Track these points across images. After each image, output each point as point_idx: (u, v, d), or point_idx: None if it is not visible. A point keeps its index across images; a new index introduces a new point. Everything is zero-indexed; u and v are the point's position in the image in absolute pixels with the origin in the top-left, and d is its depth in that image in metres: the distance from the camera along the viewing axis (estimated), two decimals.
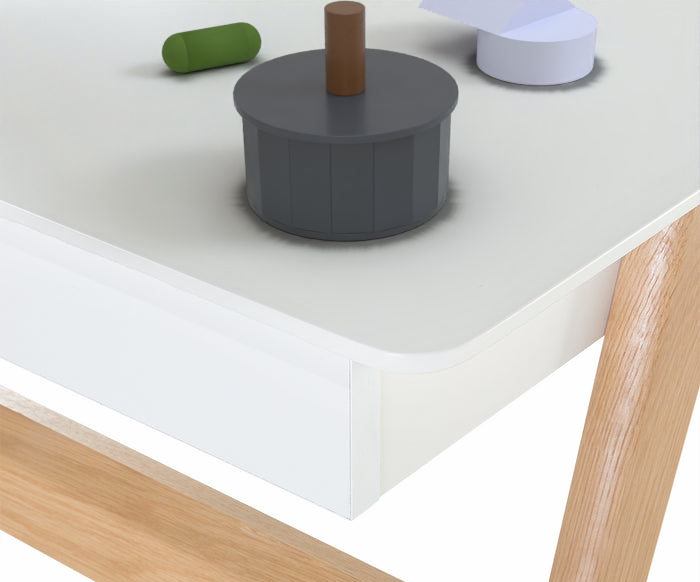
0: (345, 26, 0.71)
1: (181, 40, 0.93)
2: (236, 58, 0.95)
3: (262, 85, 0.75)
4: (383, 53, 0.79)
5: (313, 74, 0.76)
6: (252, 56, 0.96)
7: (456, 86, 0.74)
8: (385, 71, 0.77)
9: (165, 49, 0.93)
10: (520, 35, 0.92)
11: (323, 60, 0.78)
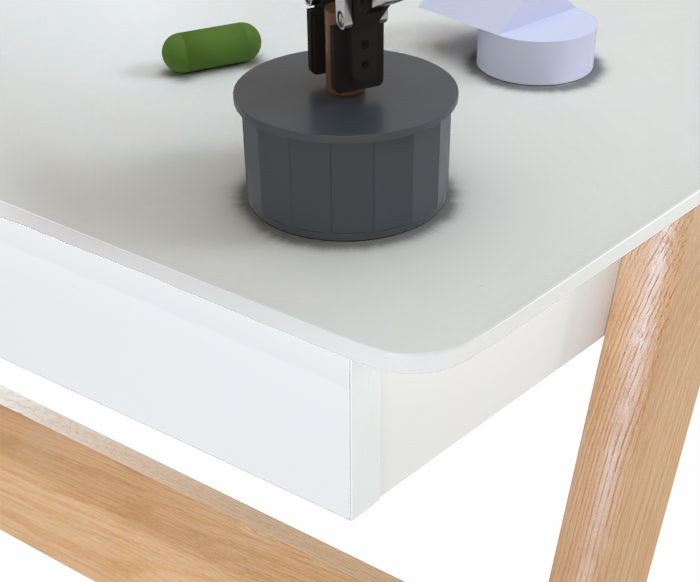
0: None
1: (181, 40, 0.93)
2: (236, 58, 0.95)
3: (262, 85, 0.75)
4: None
5: (313, 74, 0.76)
6: (252, 56, 0.96)
7: (456, 86, 0.74)
8: (385, 71, 0.77)
9: (165, 49, 0.93)
10: (520, 35, 0.92)
11: None
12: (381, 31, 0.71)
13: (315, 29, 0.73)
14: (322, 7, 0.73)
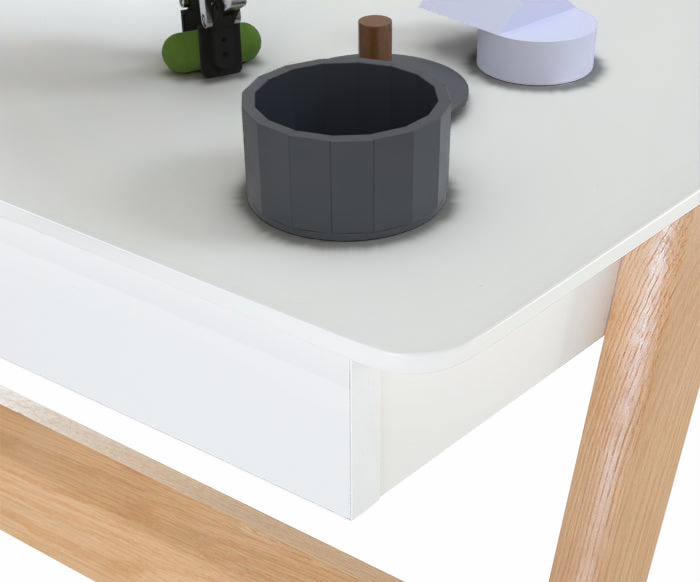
0: (376, 36, 0.86)
1: (181, 40, 0.93)
2: None
3: None
4: (405, 58, 0.94)
5: None
6: (252, 56, 0.96)
7: (467, 85, 0.90)
8: None
9: (165, 49, 0.93)
10: (520, 35, 0.92)
11: None
12: (238, 30, 0.93)
13: (187, 26, 0.95)
14: (192, 9, 0.95)
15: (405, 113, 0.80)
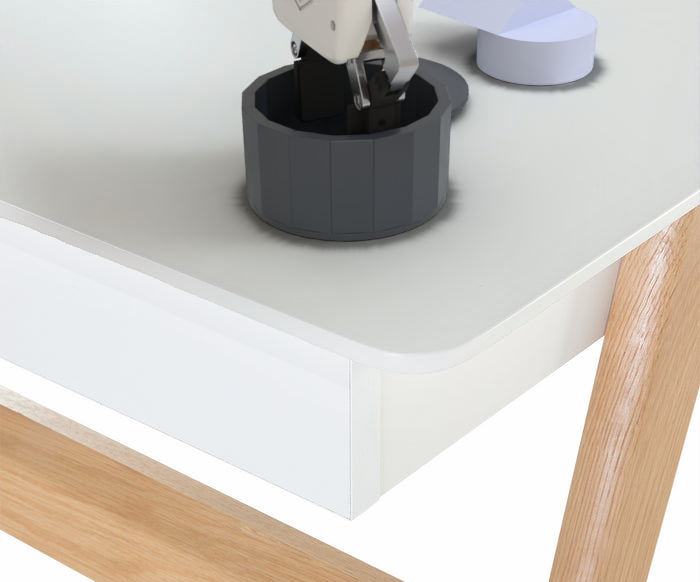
0: None
1: None
2: None
3: None
4: None
5: None
6: None
7: (467, 85, 0.90)
8: None
9: None
10: (520, 35, 0.92)
11: None
12: (397, 110, 0.72)
13: (302, 80, 0.77)
14: (308, 60, 0.76)
15: (405, 113, 0.80)
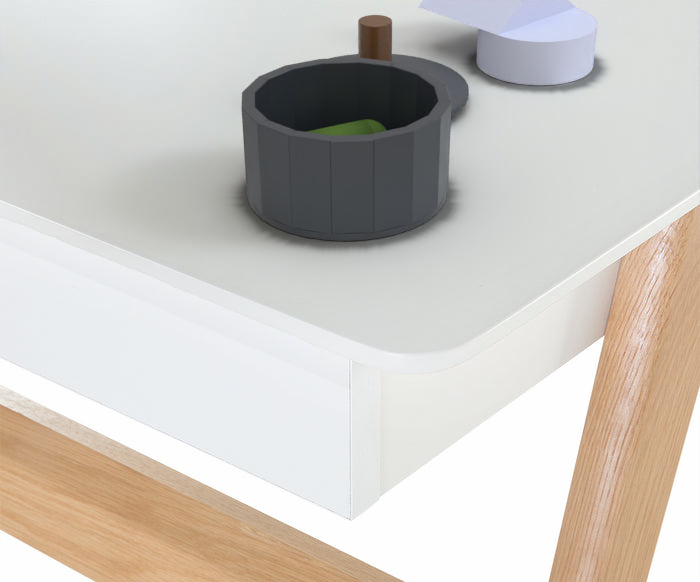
0: (376, 36, 0.86)
1: None
2: (358, 133, 0.78)
3: None
4: (405, 58, 0.94)
5: None
6: None
7: (467, 85, 0.90)
8: None
9: None
10: (520, 35, 0.92)
11: None
12: None
13: None
14: None
15: (405, 113, 0.80)
